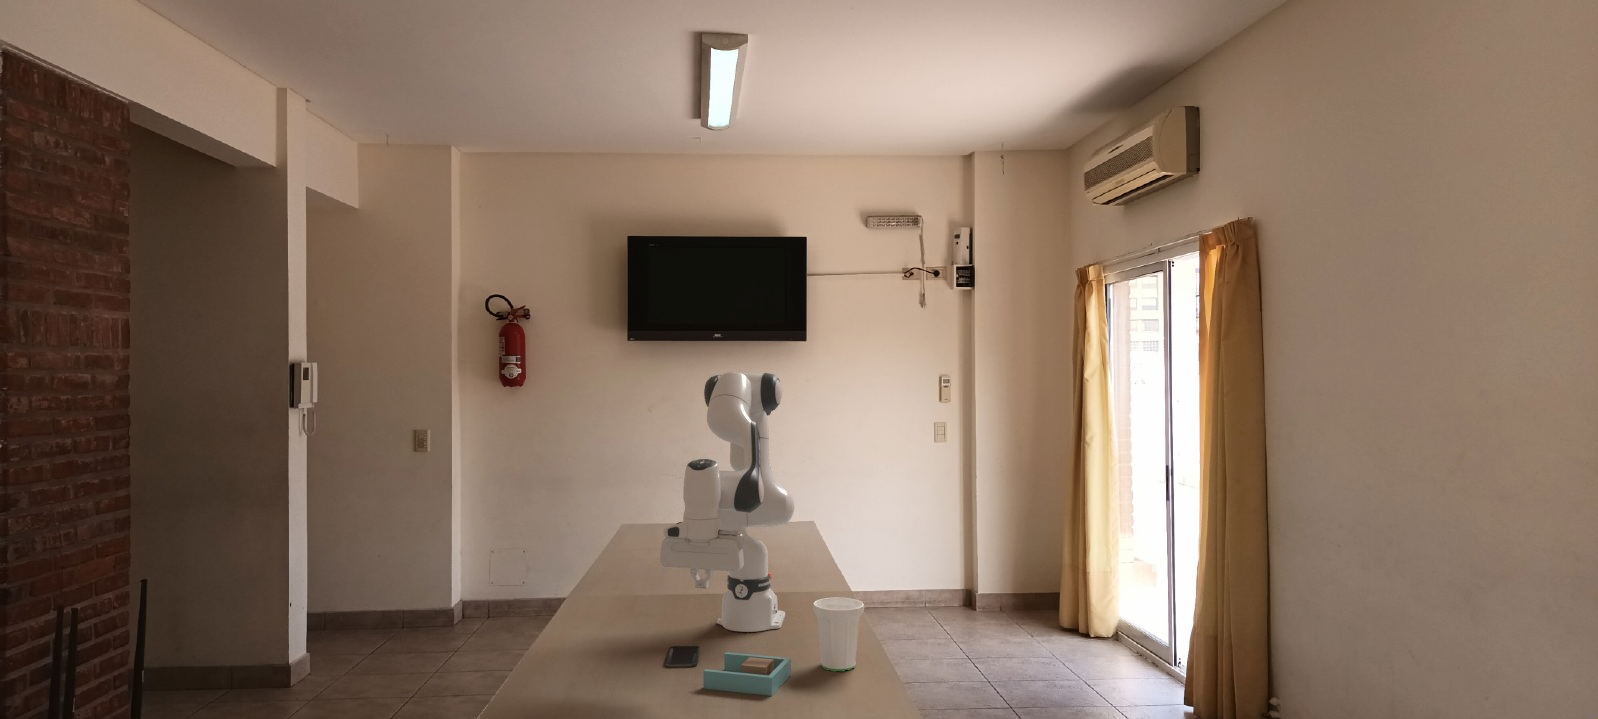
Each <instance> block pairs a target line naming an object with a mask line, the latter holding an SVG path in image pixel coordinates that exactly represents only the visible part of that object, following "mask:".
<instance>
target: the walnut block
mask: <svg viewBox="0 0 1598 719" xmlns="http://www.w3.org/2000/svg"><path fill="white" fill-rule="evenodd" d="M773 671H774V659H763V658H752V657H749V658H748V659H747V660H746V661H745V662H744V663H743V664H742V665H741V672H740V673H748V674H758V675H768V676H769V675H770V674H771V673H772V672H773Z"/></svg>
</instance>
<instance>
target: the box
mask: <svg viewBox="0 0 1598 719" xmlns="http://www.w3.org/2000/svg"><path fill="white" fill-rule="evenodd" d="M723 656H724V657H723V658H724V660H723V661H724V662H723V663H724V664H723V666H724V668H723V669H724V670H717V669H709V668H708V669H707V668H705V669H704V670H703V683H702V684H703V685H702V686H703V687H702V688H703V690H704V689H705V690H714V691H723V692H724V691H725V692H733V693H740V694H741V693H743V694H751V695H761V696H769V697H770V696H771V697H773V695H775V694H776V692H777V691H778V690H779V689H780V688H781V687H782V686H783V685H784V683H786V681H787V680H788V679H789V678H790V677H791V676H792V658H791V657H790V658H789V657H780V656H769V655H759V654H748V653H739V652H727V651H726V652H725V653H724V654H723ZM749 657H752V658H763V659H774V671H773V672H772V673H771V674H770V675H769V676H768V675H758V674H748V673H741V665H742V664H743V663H744V662H745V661H746V660H747V659H748V658H749ZM790 675H791V676H790ZM789 676H790V677H789ZM788 677H789V678H788ZM780 686H781V687H780Z"/></svg>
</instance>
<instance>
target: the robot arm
mask: <svg viewBox="0 0 1598 719" xmlns="http://www.w3.org/2000/svg"><path fill="white" fill-rule="evenodd" d="M703 390H704V391H703V397H704V402H705V404H706V407H707V411H706V412H707V413H706V423H707V425H708V428H709V430H711V432H712V433H713V434H714V435H715V436H716V437H718V438H719V439H721V440H723V441H725V442H728V443H730V447H729V448H730V452H729V463H730V466H731V468H732V470H719V469H720V468H719V464H718V462H717V461H716V460H713V459H709V458H701V459H700V458H699V459H693V460H691V461H690V462H687V464H686V465H685V466H686V468H685V470H684V480H683V494H682V496H683V497H682V498H683V502H684V512H683V520H682V521H680V522H679V521H678V522H677V523H674V524H671V525H669V526H667V527H665V528H664V529H663V536H664V538H663V539H662V541H661V544H660V545H661V546H660V553H659V554H660V556H659V560H660V564H661V566H662V567H664V568H678V569H679V568H680V569H690V570H689V571H690V575H691V577H692V578H693V580H694V588H697V589H708V588H709V586H710V579H711V578H712V576H713V574H714V571H719V572H721V571H722V572H728V575H727V579H726V586H727V591H726V592H725V593H723V594H722V595H723V596H722V603H721V617H719V618H717V619H716V624H718V625H720V626H722V627H723V628H724V629H725V630H729V631H733V632H740V633H743V632H744V633H745V632H746V633H750V632H751V633H753V632H755V633H756V632H762V631H768V630H775V629H776V630H777V629H781V627H782V625H783V622H784V620H785V617H786V612H785V611H783V610H780V609H778V596H777V594H775V593H774V591H773V589H771V580H772V576H773V575H772V572H769V551H768V548H767V546H766V544H764V542H762V541H761V540H759V539H756V538H755V537H753V536H752V535H750V534H749V533H748V531H747V528H748V527H750V528H751V527H756V528H757V527H762V528H763V527H764V528H765V527H766V528H771V527H772V528H773V527H777V526H783V525H786V524H788V523H789V522H790V521H791V519H792V518H793V515H794V512H795V503H794V498H793V497H792V495H791V494H790V492H789V491H787V489H785V488H784V487H783V486H782V485H781V484H780V483H779V482H778V481H777V479H776V477H775V475H774V474H773V471H772V468H771V462H770V461H771V460H770V442H769V441H770V436H769V435H770V433H769V432H770V431H769V422H768V416H770V415H771V413H772V412H773V411H776V409H777V408H778V407H779V405H780V404H781V401H782V396H783V388H782V385H781V380H780V379H779V377H778V376H777V375H776V374H772V373H767V372H764V373H759V372H740V371H739V372H738V371H733V370H732V371H727V372H725V373H722V374H717V375H713V376H710V377H709V378H708V379H707V380H706V381H705V385H704V389H703ZM700 570H704V575H706V576H705V577H704V579H703V578H702V579H701V577H700V576H699V572H700Z"/></svg>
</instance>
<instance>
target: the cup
mask: <svg viewBox="0 0 1598 719" xmlns="http://www.w3.org/2000/svg"><path fill="white" fill-rule="evenodd" d="M812 605H813V606H812V609H813V612H814V614H815V615H816V617H817V618H816V619H817V629H818V638H819V648H820V659H821V662H820V664H821V665H820V666H821V668H822V669H823V670H826V671H829V670H831V671H830V672H836V671H843V672H846V671H845V670H849V671H851V670H850V669H852V668H854V667H855V668H856V666H855V665H856V664H857V663H856V659H857V650H858V641H859V640H858V638H859V630H860V620H861V616H862V614H863V613H864V611H865V604H864V602H863V601H861V600H858V599H855V598H850V597H840V596H838V597H826V598H820V599H817V600H815V601H813V604H812ZM855 668H854V669H855ZM852 670H853V669H852Z"/></svg>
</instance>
